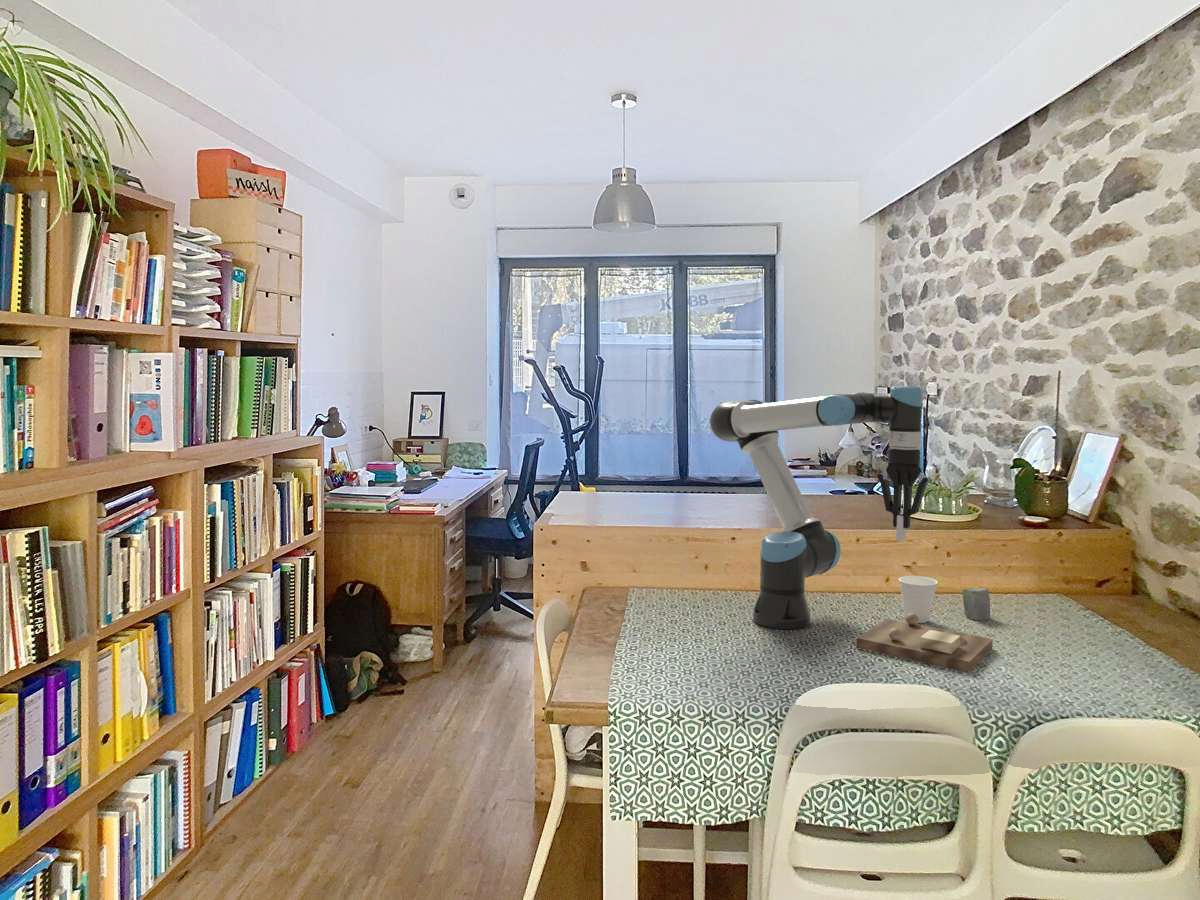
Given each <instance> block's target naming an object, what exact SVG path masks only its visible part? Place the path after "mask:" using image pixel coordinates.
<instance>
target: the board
mask: <svg viewBox="0 0 1200 900" xmlns="http://www.w3.org/2000/svg"><path fill="white" fill-rule="evenodd" d="M893 628H897V629H899V630H900V631H901V632H902V638H901V639H900V640H898V641H894V640H892V639H891V638H890V636H889V632H890V630H891V629H893ZM929 630H934V631H939V632H944V633H949V634H954V635H959V636H960V646H959V647H958V648H957V649H956V650H955V651H954V652H953V653H951V654H949V653H944V652H939V651H935V650H930V649H925V648H920V637H921V636H922V635H924V634H925V633H926V632H928V631H929ZM855 648H856V649H859V648H861V649H860V650H864V649H866V650H865V651H868V650H871V651H870V652H873V651H875V652H874V653H877V652H879V653H878V654H882V655H883V654H884V655H887V656H892V657H896V658H900V659H905V660H909V661H910V660H911V661H915V662H919V663H924V664H928V665H933V666H937V667H943V668H947V669H951V670H956V671H960V672H964V673H970V672H971V671H972V670H973V669H974V668H975V667H976V666H977V665H978V664H979V663H980V662H981V661H982V660H983V659H984V658H985V657H986V656H987V655H988V654H989V653H990V652H991V651H992V650H993V638H989V637H983V636H978V635H973V634H969V633H968V634H967V633H964V632H959V631H952V630H947V629H942V628H937V627H932V626H928V625H927V626H926V625H921V624H918V623H917V624H915V625H910V624H908V623H907V621H906V622H905V621H900V620H895V619H891V618H885V619H883V620H882V621H880V622H878V624H876V625H874V626H873V627H871V628H870V629H868V630H867V631H865V632H863V633H862V634H861V635H859V636H857V637H856V647H855Z"/></svg>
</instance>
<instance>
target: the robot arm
mask: <svg viewBox="0 0 1200 900" xmlns="http://www.w3.org/2000/svg"><path fill="white" fill-rule="evenodd" d="M923 406H924V404H923V389H922V388H921V387H919V386H911V385H909V386H905V385H903V386H902V385H901V386H899V385H898V386H897V385H895V386H892V387H891V388H890V392H889V393H876V392H875V393H872V392H871V393H870V392H869V393H868V392H853V393H850V394H849V393H847V394H846V393H845V394H842V393H838V394H837V393H835V394H834V393H833V394H830V395H827V396H826V395H825V396H817V397H809V398H800V399H792V400H791V399H790V400H784V401H777V402H776V401H775V402H766V401H763V400H757V399H750V400H749V399H748V400H739V401H738V400H736V401H732V400H731V401H730V400H729V401H726V402H722V403H720V404H719V405H717V406H716V407H715V408H714V409H713V411H712V412H711V415H710V418H709V425H710V429H711V431H712V433H713V434H714V435H715V436H716V437H717V438H718V439H720V440H722V441H724V442H728V443H729V442H730V443H733V442H734V443H735V442H736V443H738V446H739V448H740V450H741V452H742V453H744V454H747V455H749V457H750V459H751V461H752V463H753V465H754V467H755V470H756V472H757V474H758V476H759V478H760V480H761V483H762V485H763V488H765V489H764V490H765V491H766V494H767V496H768V497H769V500H770V502H771V504H772V507H773V509H774V510H775V514H776V516H777V517H778V519H779V522H780V524H781V526H782V528H783V531H781V532H780V531H779V532H778V531H776V532H773V533H769V534H767V535H766V536H764V537H763V539H762V540H761V545H760V551H759V552H760V553H759V554H760V573H759V575H760V576H759V577H760V578H759V579H760V582H759V585H760V586H759V594H758V595H757V599H756V603H755V605H754V607H753V609H752V610H753V612H752V621H754V623H756V624H757V625H759V626H762V627H765V628H766V627H767V628H771V629H777V630H797V629H798V630H799V629H803V628H806V627H808V626H809V625H810V624H811V612H810V610H809V605H808V603H807V602H808V601H807V599H806V596H805V587H806V585H805V584H806V578H809V577H810V578H811V577H813V576H816V575H822V574H825V573H827V572H828V571H831V570H832V569H834V568H835V567H836V565H837V564H838V563H839V562H840V561H839V560H840V557H841V554H842V550H841V549H842V548H841V543H840V541H839V539H838V537H837V536H836V535H835V534H834V533H833V532H832V531H829V530H827V529H825V527H824V525H823V524H822V522H821V519H819V518H816V517H814V516H813V515H812V513H811V512H810V511H811V510H810V509H809V507H808V505H807V503H806V501H805V499H804V497H803V495H802V492H801V490H800V488H799V486H798V484H797V482H796V480H795V478H794V475H793V474H792V472H791V470H790V468H789V466H788V463H787V461H786V458H785V457H784V455H783V453H782V450H781V448H780V446H779V445H778V440H779V437H780V434H779V432H778V431H786V430H796V429H798V430H799V429H807V428H816V427H817V428H818V427H831V426H834V427H836V426H837V427H838V426H844V425H850V424H853V425H854V424H866V423H874V424H875V423H877V424H879V423H880V424H889V426H888V427H889V431H888V435H889V436H888V446H890V448H889V449H888V454H887V455H888V457H887V461H888V462H887V466H886V468H885V470H884V471H883V472H880V473H877V475H876V478H877V479H878V481H879V483H880V487H881V491H882V497H883V503H884V507H885V511H886V512H889V513H892V526H893V528H896V531H895V533H896V535H895V541H896V542H904V541H906V539H907V538H906V537H907V529H909V528H910V526H911V516H912V515H915V514H918V513H919V511H920V507H921V504H922V500H923V497H924V494H925V491H926V487H927V485H928V484H929V482H930V481H931V477H930V476H927V475H925V474H924V473H922V469H921V467H920V465H921V450H920V448H921V446H922V441H921V439H922V415H923V414H922V413H923ZM889 478H890V480H891V481H892V484H893V486H892V488H893V495H892V492H891V487H890V482H889ZM917 480H918V483H919V484H918V485H917V488H916V490H915V494H914V498H913V487H914V483H915V482H916V481H917ZM902 489H903V490H902ZM902 492H903V505H902ZM892 496H893V497H892ZM912 498H913V500H912ZM912 501H913V502H912ZM902 506H903V508H902ZM902 509H903V510H902Z"/></svg>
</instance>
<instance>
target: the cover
mask: <svg viewBox="0 0 1200 900" xmlns="http://www.w3.org/2000/svg"><path fill="white" fill-rule="evenodd" d="M959 646H960V636H959V635H954V634H949V633H944V632H939V631H934V630H929V631H928V632H926V633H925V634H924V635H922V636H921V637H920V648H925V649H930V650H935V651H939V652H944V653H949V654H951V653H953V652H954V651H955V650H956V649H957V648H958V647H959Z"/></svg>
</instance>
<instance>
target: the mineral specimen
mask: <svg viewBox="0 0 1200 900" xmlns="http://www.w3.org/2000/svg"><path fill="white" fill-rule="evenodd" d="M990 600H991V598H990V591H989V588H986V587H983V588H982V587H978V588H977V587H976V588H975V587H974V588H963V589H962V602H963V608H964V609H963V610H964V617H967V618H969V619H971V620H972V621H976V622H980V621H984V620H990V619H991V601H990Z"/></svg>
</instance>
